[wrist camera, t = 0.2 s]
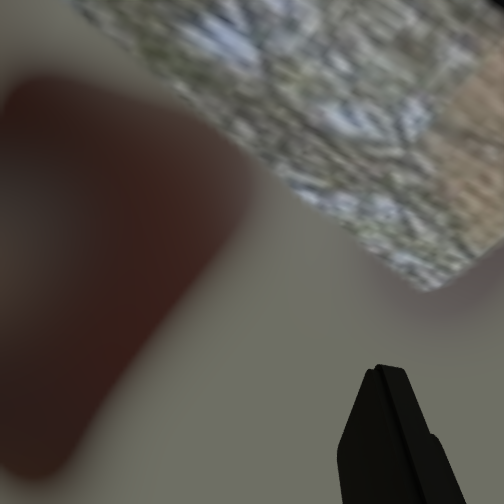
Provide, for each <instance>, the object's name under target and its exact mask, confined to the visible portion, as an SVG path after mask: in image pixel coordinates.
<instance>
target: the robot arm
mask: <svg viewBox="0 0 504 504" xmlns="http://www.w3.org/2000/svg"><path fill="white" fill-rule="evenodd" d="M337 464H338V472H339V480H340V487H341V494H342V502H343V504H466V502H465V499H464V497H463V495H462V492H461V490H460V487H459V485H458V483H457V480H456V478H455V476H454V473H453V471H452V468H451V466H450V463H449V461H448V459H447V456H446V454H445V451H444V449H443V447H442V445H441V443H440V441H439V439H438V438H437V437H436V436H435V435H434V434H430V432H429V429H428V427H427V424H426V422H425V419H424V417H423V414H422V412H421V409H420V407H419V404H418V402H417V399H416V397H415V394H414V392H413V389H412V387H411V384H410V382H409V379H408V377H407V374H406V372H405V370H404V369H402V368H398V367H393V366H387V365H380V364H377V365H376V366H375V368H374V370H373V369H368V370H367V371H366V373H365V376H364V379H363V381H362V384H361V387H360V389H359V392H358V395H357V397H356V400H355V402H354V405H353V408H352V410H351V413H350V416H349V418H348V421H347V424H346V426H345V429H344V432H343V434H342V437H341V440H340V442H339V445H338V450H337Z"/></svg>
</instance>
